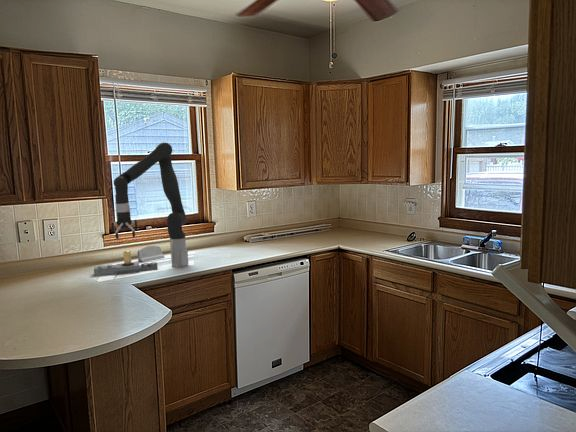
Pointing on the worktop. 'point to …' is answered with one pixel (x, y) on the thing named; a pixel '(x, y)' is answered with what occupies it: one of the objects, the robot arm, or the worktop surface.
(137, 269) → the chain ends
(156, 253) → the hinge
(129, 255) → the brass pin
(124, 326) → the worktop surface
